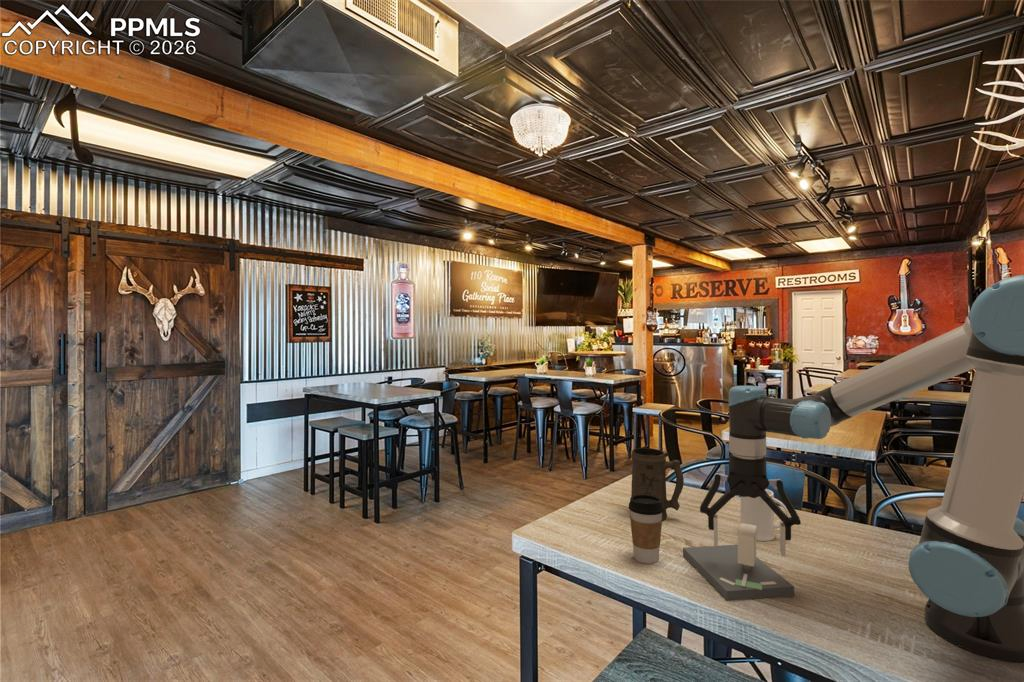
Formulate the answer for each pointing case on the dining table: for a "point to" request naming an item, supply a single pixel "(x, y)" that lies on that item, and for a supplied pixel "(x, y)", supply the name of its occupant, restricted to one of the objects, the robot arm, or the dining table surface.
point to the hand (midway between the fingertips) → (748, 548)
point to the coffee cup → (646, 527)
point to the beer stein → (655, 476)
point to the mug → (760, 515)
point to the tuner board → (736, 573)
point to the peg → (747, 547)
